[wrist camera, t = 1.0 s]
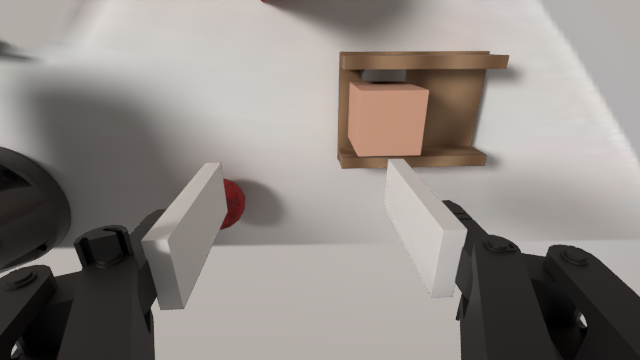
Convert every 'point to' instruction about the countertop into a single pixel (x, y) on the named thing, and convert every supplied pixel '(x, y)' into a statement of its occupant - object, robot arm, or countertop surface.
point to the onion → (233, 203)
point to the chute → (442, 108)
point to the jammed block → (386, 118)
